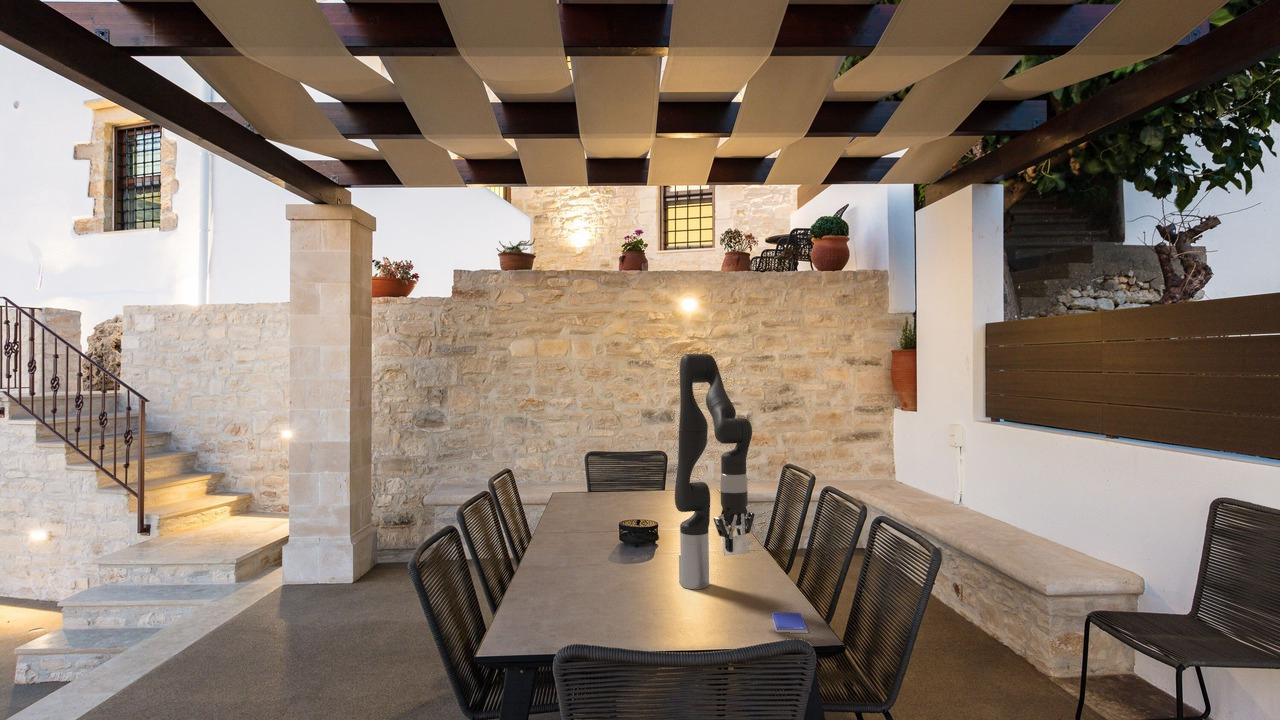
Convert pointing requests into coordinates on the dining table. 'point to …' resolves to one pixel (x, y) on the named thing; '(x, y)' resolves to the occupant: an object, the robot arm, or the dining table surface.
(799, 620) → the hard drive
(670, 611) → the dining table surface
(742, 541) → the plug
